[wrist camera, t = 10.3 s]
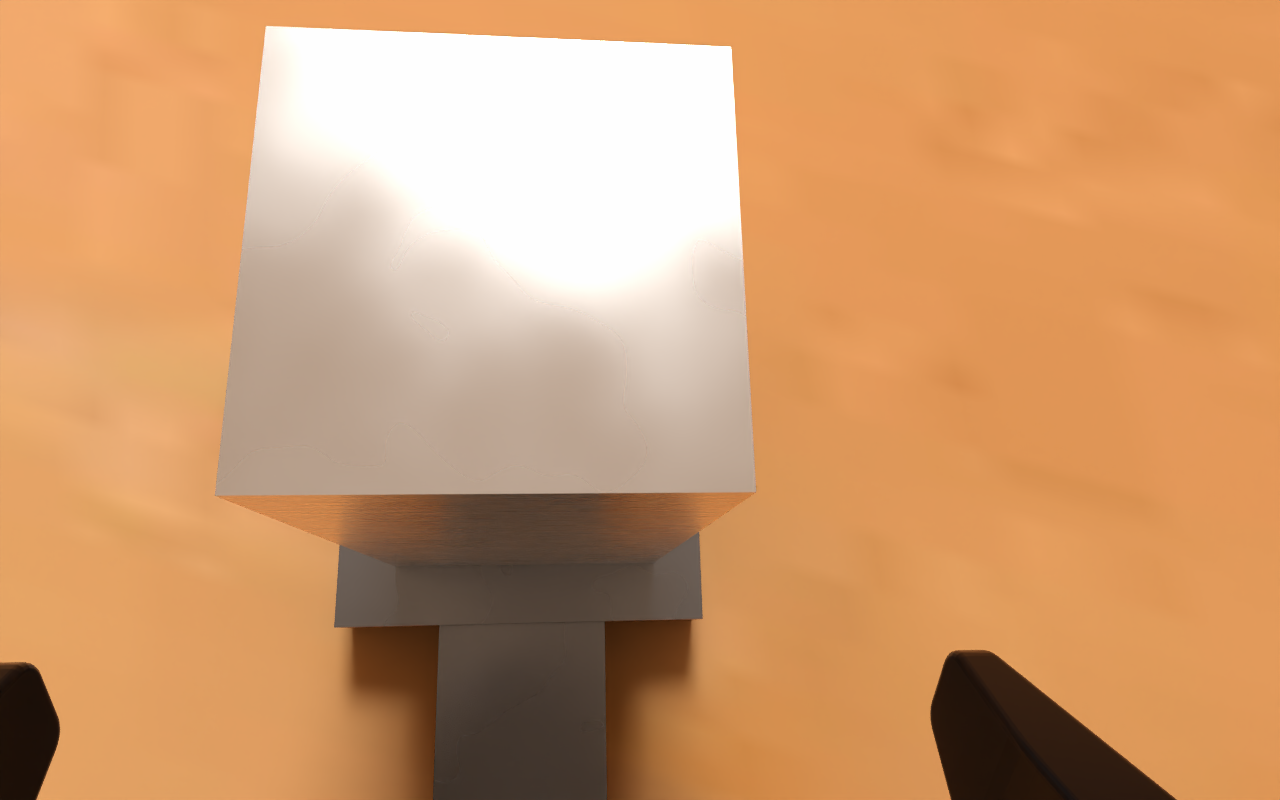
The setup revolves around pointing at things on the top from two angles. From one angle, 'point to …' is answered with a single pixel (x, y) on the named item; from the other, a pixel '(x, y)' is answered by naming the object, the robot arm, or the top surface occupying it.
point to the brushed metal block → (490, 298)
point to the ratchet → (519, 660)
